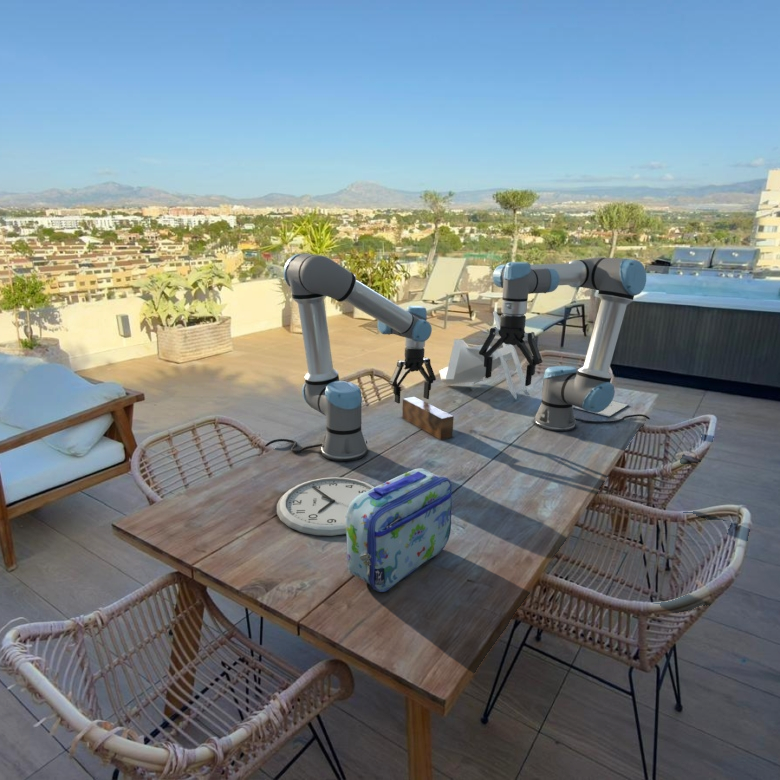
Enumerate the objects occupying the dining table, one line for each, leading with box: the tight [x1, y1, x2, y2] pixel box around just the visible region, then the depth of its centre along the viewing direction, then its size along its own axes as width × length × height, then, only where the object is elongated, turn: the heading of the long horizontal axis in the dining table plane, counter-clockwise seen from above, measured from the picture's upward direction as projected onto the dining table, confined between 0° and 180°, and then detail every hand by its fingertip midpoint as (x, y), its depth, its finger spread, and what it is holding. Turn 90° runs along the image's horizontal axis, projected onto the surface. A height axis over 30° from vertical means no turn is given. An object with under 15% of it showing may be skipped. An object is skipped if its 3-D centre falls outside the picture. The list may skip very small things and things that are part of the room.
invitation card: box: [573, 400, 629, 418], centre depth 226 cm, size 21×1×15 cm
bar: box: [401, 396, 454, 441], centre depth 199 cm, size 26×5×8 cm, turn 31°
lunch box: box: [345, 467, 453, 593], centre depth 115 cm, size 26×11×21 cm, turn 135°
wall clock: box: [276, 476, 376, 537], centre depth 142 cm, size 30×2×30 cm
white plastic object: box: [438, 310, 531, 400], centre depth 245 cm, size 37×45×31 cm
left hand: (411, 400), depth 205 cm, fingers open, 13 cm apart
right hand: (507, 381), depth 166 cm, fingers open, 13 cm apart
